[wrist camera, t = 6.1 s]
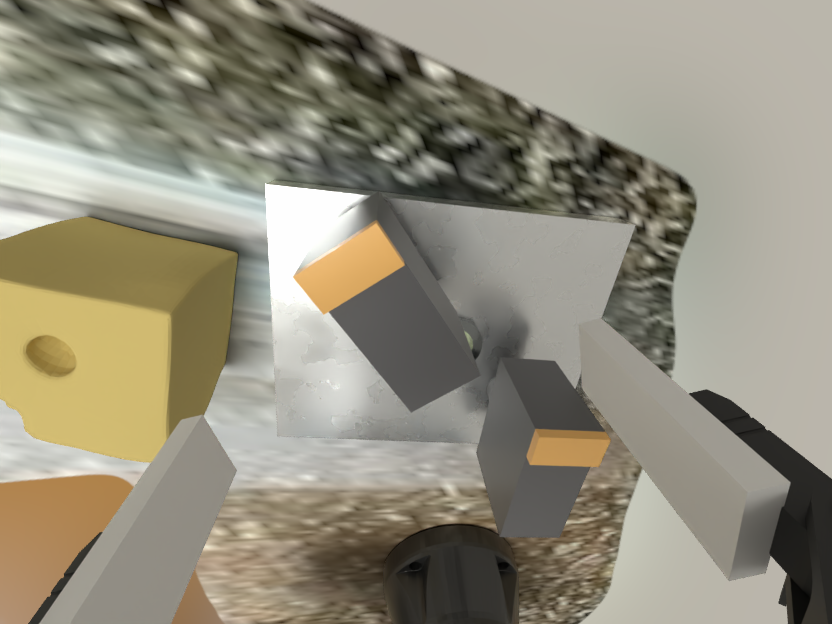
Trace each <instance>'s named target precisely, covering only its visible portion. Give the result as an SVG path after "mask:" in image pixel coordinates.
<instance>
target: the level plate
mask: <svg viewBox="0 0 832 624" xmlns="http://www.w3.org/2000/svg"><path fill="white" fill-rule="evenodd" d="M265 185H266V206H267V227H268V248H269V269H270V290H271V311H272V331H273V352H274V373H275V394H276V415H277V436H282V437H310V438H337V439H365V440H392V441H420V442H447V443H475V444H479V440H480V436H481V432H482V428H483V424H484V420H485V417H486V413H487V409H488V405H489V400H488V397H487V394H486V387H487V385H488V383H489V382H490V380H491V379H493V378H494V377H496V373H497V369H498V365H499V361H500V357H504V358H520V359H535V360H551V361H556V363H557V364H558V366H559V367H560V369H561V370H562V371H563V373H564V374H565V376H566V377H567V378H568V380H569V381H570V383H571V384H572V385H573V387H574V388H575V389H576V386H577V383H578V380H579V378H580V375H581V360H580V342H579V323H583V322H587V321H592V320H596V319H600V318H602V315H603V312H604V310H605V307H606V304H607V301H608V299H609V296H610V293H611V291H612V288H613V285H614V282H615V280H616V277H617V274H618V272H619V269H620V266H621V263H622V261H623V258H624V255H625V252H626V250H627V247H628V244H629V242H630V239H631V236H632V233H633V231H634V228H635V224H632V223H630V222H627V221H625V220H623V219H620V218H613V217H604V216H595V215H586V214H577V213H568V212H559V211H550V210H541V209H532V208H523V207H514V206H505V205H496V204H487V203H478V202H469V201H460V200H451V199H442V198H433V197H424V196H415V195H406V194H397V193H388V192H380V193H381V194H382V196H383V197H384V199H385V200H386V202H387V204H388V205H389V207H390V208H391V210H392V211H393V213H394V215H395V216H396V218H397V219H398V221H399V222H400V224H401V225H402V227H403V229H404V230H405V232H406V233H407V235H408V236H409V238H410V240H411V241H412V243H413V244H414V246H415V247H416V249H417V251H418V252H419V254H420V255H421V257H422V258H423V260H424V261H425V263H426V265H427V266H428V268H429V269H430V271H431V272H432V274H433V276H434V277H435V279H436V280H437V282H438V283H439V285H440V286H441V288H442V290H443V291H444V293H445V294H446V296H447V297H448V299H449V301H450V302H451V304H452V305H453V307H454V308H455V310H456V311H457V314H458V316H459V319H460V322H461V324H462V327H463V330H464V332H465V335H466V338H467V340H468V343H469V346H470V348H471V351H472V354H473V356H474V359H475V362H476V364H477V367H478V370H479V372H480V375H481V376H479V377H477V378H475V379H474V380H472V381H470V382H468V383H466V384H464V385H462V386H460V387H459V388H457V389H455V390H453V391H451V392H449V393H447V394H445V395H443V396H442V397H440V398H438V399H436V400H434V401H432V402H430V403H428V404H426V405H425V406H423V407H421V408H419V409H417V410H415V411H413V412H410V411H409V409H408V408H407V407H406V406H405V404H404V403H403V402H402V401H401V400H400V398H399V397H398V396H397V395H396V394H395V392H394V391H393V390H392V389H391V387H390V386H389V385H388V384H387V383H386V381H385V380H384V379H383V378H382V376H381V375H380V374H379V373H378V372H377V370H376V369H375V368H374V367H373V366H372V364H371V363H370V362H369V361H368V359H367V358H366V357H365V356H364V355H363V353H362V352H361V351H360V350H359V349H358V347H357V346H356V345H355V344H354V342H353V341H352V340H351V339H350V338H349V336H348V335H347V334H346V333H345V331H344V330H343V329H342V328H341V327H340V325H339V324H338V323H337V322H336V321H335V319H334V318H333V317H332V316H331V314H330V313H329V312H328V313H326V314H324V315H323V313H322V312H321V311H320V310H319V309H318V307H317V306H316V305H315V304H314V303H313V301H312V300H311V299H310V298H309V297H308V295H307V294H306V293H305V292H304V291H303V289H302V288H301V287H300V286H299V285H298V283H297V282H296V281H295V280H294V279H293V276H294V274H295V272H296V270H297V269H298V267H299V265H300V264H301V262H302V260H303V259H304V257H305V255H306V253H307V252H308V250H309V248H310V247H311V245H312V243H313V242H314V240H315V238H316V237H317V235H318V233H319V231H320V230H321V229H322V228H323V227H325V226H326V225H328V224H329V223H331V222H332V221H334V220H335V219H337V218H338V217H340V216H341V215H343V214H344V213H346V212H348V211H349V210H351V209H352V208H354V207H355V206H357V205H358V204H360V203H361V202H363V201H364V200H366V199H367V198H369V197H370V196H372V195H373V194H375V193H376V192H378V191H370V190H361V189H352V188H343V187H334V186H325V185H316V184H307V183H298V182H289V181H280V180H273V181H271V182H269V183H267V184H265Z"/></svg>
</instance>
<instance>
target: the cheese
mask: <svg viewBox="0 0 832 624" xmlns="http://www.w3.org/2000/svg"><path fill="white" fill-rule="evenodd" d="M237 260H238V253H236V252H233V251H229V250H225V249H222V248H218V247H214V246H210V245H205V244H201V243H196V242H191V241H186V240H181V239H177V238H172V237H167V236H162V235H157V234H153V233H149V232H145V231H141V230H137V229H133V228H129V227H125V226H121V225H117V224H114V223H110V222H106V221H102V220H99V219H95V218H91V217H80V218H75V219H69V220H64V221H60V222H56V223H53V224H48V225H45V226H42V227H38V228H35V229H32V230H29V231H26V232H23V233H20V234H18V235H15V236H12V237H9V238H6V239H2V240H0V399H1V400H3V401H5V402H6V405H7V406H8V407H9V408H12V409H15V410H17V411H18V412H19V414H20V415H21V417H22V419H23V423H24V429H25V432H28V433H29V434H30V435H31V436H32V437H34V438H36V439H40V440H43V441H46V442H50V443H55V444H60V445H64V446H70V447H75V448H79V449H82V450H86V451H90V452H94V453H98V454H102V455H107V456H111V457H116V458H120V459H125V460H132V461H139V462H149V463H151V462H152V461H153V459H154V458H155V457H156V455H157V454H158V452H159V451H160V449H161V448H162V447H163V445H164V444H165V442H166V441H167V439H168V438H169V436H170V435H171V434H172V432H173V431H174V429H175V428H176V426H177V425H178V424H179V422H180V421H181V420H182V419H186V418H190V417H194V416H199V415H203V416H204V414H205V411H206V409H207V407H208V405H209V402H210V400H211V397H212V395H213V392H214V389H215V386H216V384H217V381H218V378H219V376H220V373H221V371H222V369H223V367H224V365H225V362H226V354H227V347H228V341H229V334H230V326H231V318H232V307H233V297H234V284H235V276H236V268H237Z"/></svg>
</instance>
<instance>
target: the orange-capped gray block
mask: <svg viewBox="0 0 832 624" xmlns="http://www.w3.org/2000/svg"><path fill="white" fill-rule="evenodd" d="M293 279H294V280H295V281H296V282H297V283H298V285H299V286H300V287H301V288H302V289H303V291H304V292H305V293H306V294H307V295H308V297H309V298H310V299H311V300H312V301H313V303H314V304H315V305H316V306H317V307H318V309H319V310H320V311H321V312H322V313H323V315H324V314H326V313H328V312H329V313H330V314H331V316H332V317H333V318H334V319H335V321H336V322H337V323H338V324H339V325H340V327H341V328H342V329H343V330H344V331H345V333H346V334H347V335H348V336H349V338H350V339H351V340H352V341H353V342H354V344H355V345H356V346H357V347H358V349H359V350H360V351H361V352H362V353H363V355H364V356H365V357H366V358H367V359H368V361H369V362H370V363H371V364H372V366H373V367H374V368H375V369H376V370H377V372H378V373H379V374H380V375H381V376H382V378H383V379H384V380H385V381H386V383H387V384H388V385H389V386H390V387H391V389H392V390H393V391H394V392H395V394H396V395H397V396H398V397H399V398H400V400H401V401H402V402H403V403H404V404H405V406H406V407H407V408H408V409H409V411H410V412H413V411H415V410H417V409H419V408H421V407H423V406H425V405H426V404H428V403H430V402H432V401H434V400H436V399H438V398H440V397H442V396H443V395H445V394H447V393H449V392H451V391H453V390H455V389H457V388H459V387H460V386H462V385H464V384H466V383H468V382H470V381H472V380H474V379H475V378H477V377H479V376H481V375H480V372H479V370H478V367H477V364H476V362H475V359H474V356H473V354H472V351H471V348H470V346H469V343H468V340H467V338H466V335H465V332H464V330H463V327H462V324H461V322H460V319H459V316H458V314H457V311H456V310H455V308H454V307H453V305H452V304H451V302H450V301H449V299H448V297H447V296H446V294H445V293H444V291H443V290H442V288H441V286H440V285H439V283H438V282H437V280H436V279H435V277H434V276H433V274H432V272H431V271H430V269H429V268H428V266H427V265H426V263H425V261H424V260H423V258H422V257H421V255H420V254H419V252H418V251H417V249H416V247H415V246H414V244H413V243H412V241H411V240H410V238H409V236H408V235H407V233H406V232H405V230H404V229H403V227H402V225H401V224H400V222H399V221H398V219H397V218H396V216H395V215H394V213H393V211H392V210H391V208H390V207H389V205H388V204H387V202H386V200H385V199H384V197H383V196H382V194H381V193H380V191H378V192H376V193H375V194H373V195H372V196H370V197H369V198H367V199H366V200H364V201H363V202H361V203H360V204H358V205H357V206H355V207H354V208H352V209H351V210H349V211H348V212H346V213H344V214H343V215H341V216H340V217H338V218H337V219H335V220H334V221H332V222H331V223H329V224H328V225H326V226H325V227H323V228H322V229H321V230H320V231H319V233H318V235H317V237H316V238H315V240H314V242H313V243H312V245H311V247H310V248H309V250H308V252H307V253H306V255H305V257H304V259H303V260H302V262H301V264H300V265H299V267H298V269H297V270H296V272H295V274H294V276H293Z"/></svg>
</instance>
